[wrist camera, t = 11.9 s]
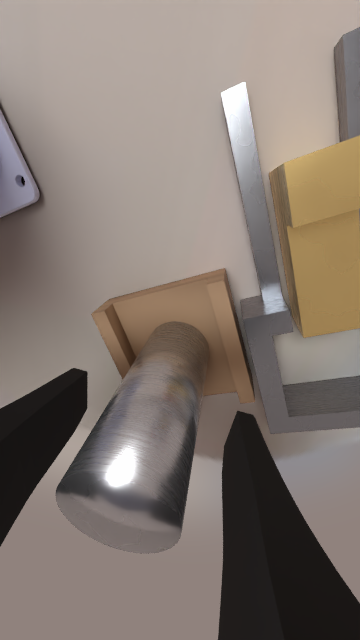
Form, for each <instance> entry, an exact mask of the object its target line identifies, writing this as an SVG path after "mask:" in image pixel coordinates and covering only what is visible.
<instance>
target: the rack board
mask: <svg viewBox="0 0 360 640" xmlns="http://www.w3.org/2000/svg"><path fill="white" fill-rule="evenodd" d="M91 315H92V317H93V319H94V321H95V323H96V325H97V327H98V329H99V331H100V334H101V336H102V338H103V340H104V342H105V344H106V346H107V348H108V350H109V352H110V354H111V356H112V358H113V360H114V362H115V364H116V367H117V369H118V371H119V373H120V375H121V377H122V379H124V377H125V376H126V374H127V373H128V371H129V369H130V368H131V366H132V364H133V363H134V361H135V360H136V358H137V356H138V355H139V353H140V351H141V350H142V348H143V347H144V345H145V343H146V342H147V340H148V338H149V337H150V335H151V334H152V332H153V331H154V330H155V329H156V328H157V327H158V326H160V325H161V324H164V323H167V322H172V321H178V322H184V323H187V324H190V325H192V326H194V327H195V328H197V329H198V330H199V331H200V332H201V333H202V334H203V335H204V337H205V338H206V340H207V342H208V346H209V358H208V364H207V370H206V377H205V383H204V390H203V396H206V395H214V394H222V393H230V392H237V393H238V397H239V400H240V404H241V403H250V402H255V395H254V387H253V379H252V374H251V370H250V366H249V362H248V358H247V354H246V350H245V346H244V342H243V338H242V334H241V330H240V326H239V322H238V318H237V314H236V310H235V306H234V302H233V298H232V294H231V290H230V286H229V282H228V278H227V274H226V270H225V268H224V269H220V270H216V271H212V272H209V273H205V274H201V275H198V276H194V277H190V278H186V279H183V280H179V281H175V282H171V283H168V284H164V285H160V286H157V287H153V288H149V289H145V290H142V291H138V292H134V293H131V294H127V295H123V296H119V297H116V298H112V299H109V300H108V301H106V302H105V303H104V304H103V305H102V306H100V307H99V308H98V309H97V310H96V311H94V312H93V313H92V314H91Z"/></svg>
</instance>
